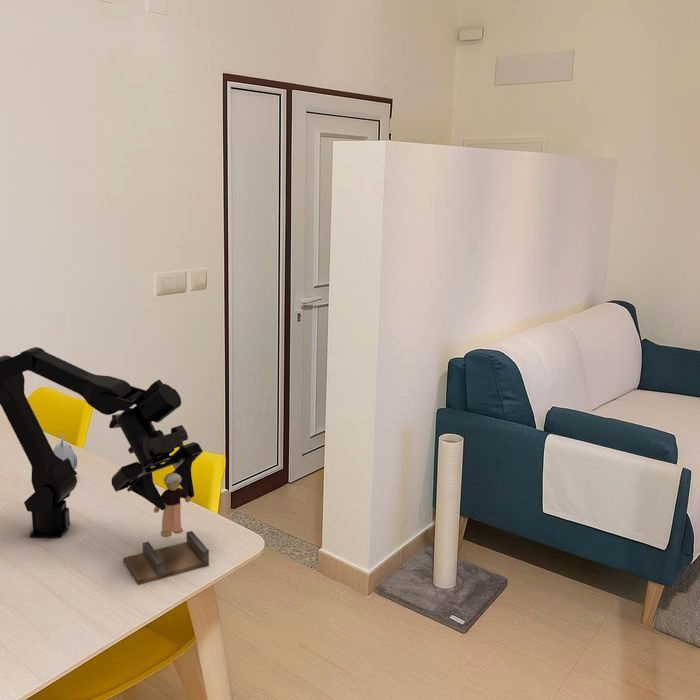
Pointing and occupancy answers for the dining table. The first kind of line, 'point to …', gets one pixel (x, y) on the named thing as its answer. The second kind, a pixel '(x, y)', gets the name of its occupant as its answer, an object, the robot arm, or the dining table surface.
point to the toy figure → (65, 452)
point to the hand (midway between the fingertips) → (178, 503)
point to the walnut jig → (167, 559)
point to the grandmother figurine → (172, 505)
